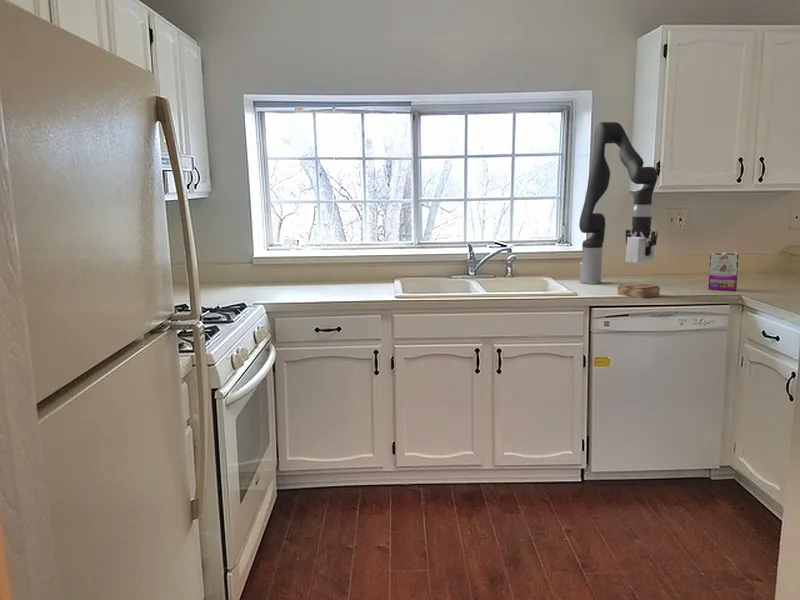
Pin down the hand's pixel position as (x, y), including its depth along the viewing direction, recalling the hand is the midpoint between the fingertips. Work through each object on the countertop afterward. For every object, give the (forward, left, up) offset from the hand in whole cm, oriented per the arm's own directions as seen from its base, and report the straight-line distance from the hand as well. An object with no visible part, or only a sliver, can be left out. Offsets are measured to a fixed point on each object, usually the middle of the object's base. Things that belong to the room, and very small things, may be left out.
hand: (640, 255), depth 267 cm
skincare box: (0, 0, -3) cm, 3 cm away
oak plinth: (0, 0, -17) cm, 17 cm away
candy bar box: (+16, +38, -17) cm, 45 cm away
